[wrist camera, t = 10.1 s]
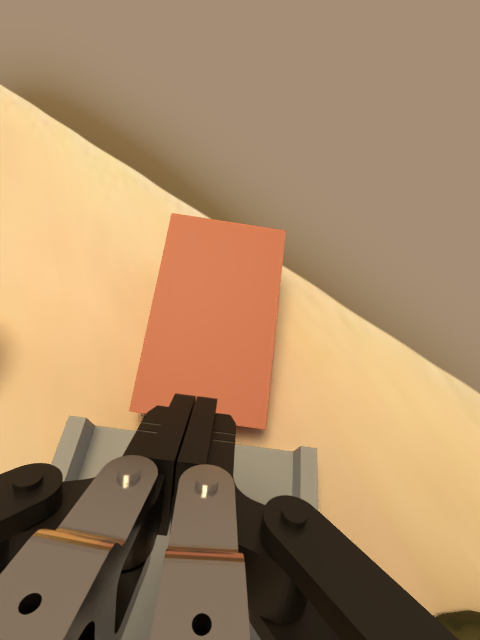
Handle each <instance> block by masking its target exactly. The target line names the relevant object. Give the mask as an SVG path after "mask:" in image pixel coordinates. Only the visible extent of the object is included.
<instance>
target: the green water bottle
mask: <svg viewBox="0 0 480 640" xmlns="http://www.w3.org/2000/svg"><path fill="white" fill-rule="evenodd" d="M436 619H437V620H438V621H439V622H440V623H441V624H442V625H444V626H445V627H446V628H447V629H448V630H449V631H450V632H451V633H452V634H453V635H455V636H456V637H457V638H458V639H459V640H480V612H475V611H471V610H470V611H462V612H455V613H447V614H442V615H440V616H439V617H437V618H436Z"/></svg>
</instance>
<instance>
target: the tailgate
mask: <svg viewBox="0 0 480 640" xmlns="http://www.w3.org/2000/svg"><path fill="white" fill-rule="evenodd" d="M285 232H286V231H285V230H279V229H273V228H266V227H259V226H253V225H246V224H240V223H233V222H226V221H220V220H213V219H207V218H200V217H194V216H187V215H180V214H174V213H172V214H171V219H170V224H169V228H168V233H167V237H166V242H165V247H164V251H163V256H162V261H161V265H160V270H159V275H158V279H157V284H156V288H155V293H154V298H153V302H152V307H151V312H150V316H149V321H148V326H147V330H146V335H145V339H144V344H143V349H142V353H141V358H140V363H139V367H138V372H137V377H136V381H135V386H134V391H133V395H132V400H131V404H130V409H129V411H130V412H138V413H145V414H146V413H147V412H148V411H150V410H151V409H153V408H154V407H156V406H157V405H159V406H167V407H169V405H170V403H171V401H172V399H173V397H174V394H175V393H178V394H185V395H193V396H196V398H197V396H201V397H209V398H216V399H218V400H217V408H216V413H221V414H228V415H231V416H232V418H233V420H234V421H235V423H236V426H243V427H251V428H258V429H266V421H267V411H268V401H269V391H270V381H271V371H272V361H273V351H274V341H275V331H276V321H277V311H278V301H279V291H280V282H281V272H282V261H283V252H284V241H285Z"/></svg>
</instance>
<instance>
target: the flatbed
mask: <svg viewBox="0 0 480 640" xmlns="http://www.w3.org/2000/svg"><path fill="white" fill-rule="evenodd" d="M135 433H136V431H131V430H124V429H116V428H109V427H101V426H95V425H94V424H93V423H91V422H90V421H89V420H88V419H87V418H83V417H76V416H69V418H68V420H67V423H66V426H65V428H64V431H63V434H62V436H61V439H60V442H59V445H58V447H57V450H56V453H55V455H54V458H53V461H52V463H51V465H54V466H56V467H57V468H59V469H60V470H61V472H62V475H63V482H64V481H73V480H82V479H89V478H93V477H96V476H97V475H98V473H99V472H100V471H101V469H102V468H103V467H104V466H105V465H106V464H107V463H108V462H110V461H111V460H113V459H116V458H118V457H122V456H123V454H124V452H125V450H126V448H127V447H128V445H129V443H130V441H131V440H132V438H133V436H134V434H135ZM233 477H234V482H235V484H236V486H237V487H238V489H239V490H240V491H241V492H242V493H243V494H244V495H246V496H247V497H249V498H250V499H252V500H254V501H257V502H259V503H262V504H264V505H266V503H267V502H268V501H269V500H270V499H272V498H274V497H276V496H281V495H289V496H295V497H298V498H301V499H303V500H305V501H306V502H308V503H309V504H311V505H312V506H313V507H314V508H315V509H317V510H318V479H317V448H311V447H304V446H300V447H299V448H298V449H296V450H295V451H293V452H292V451H284V450H277V449H269V448H261V447H254V446H246V445H238V444H235V454H234V472H233ZM170 526H171V523H170ZM170 526H169V530H168V534H167V536H163V535H157V537H156V541H155V544H154V547H153V550H152V552H151V556H150V564H149V567H148V570H147V572H146V575H145V578H144V580H143V583H142V585H141V588H140V591H139V593H138V596H137V599H136V601H135V604H134V607H133V609H132V612H131V615H130V617H129V620H128V623H127V625H126V628H125V630H124V633H123V636H122V638H121V640H150V637H151V631H152V625H153V619H154V614H155V608H156V602H157V596H158V591H159V585H160V579H161V574H162V568H163V562H164V557H165V552H166V549H168V543H169V537H170ZM249 627H250V640H261V639H260V637H259V636H258V634H257V633H256V631H255V630H254V628H253V627H252V625H251V623H250V621H249Z"/></svg>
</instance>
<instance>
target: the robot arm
mask: <svg viewBox="0 0 480 640" xmlns="http://www.w3.org/2000/svg"><path fill="white" fill-rule="evenodd" d="M217 400H218V399H216V398H209V397H201V396H197V398H196V396H193V395H185V394H178V393H175V394H174V397H173V399H172V401H171V403H170V405H169V407H167V406H159V405H157V406H156V407H154V408H153V409H151V410H150V411H148V412H147V413H146V415H145V417H144V418H143V420H142V423H141V424H140V426H139V427H138V429H137V431H136V433H135V434H134V436H133V438H132V440H131V441H130V443H129V445H128V447H127V448H126V450H125V452H124V454H123V456H122V457H118V458H116V459H113V460H111V461H110V462H108V463H107V464H106V465H105V466H104V467H103V468H102V469H101V471H100V472H99V473H98V475H97V476H96V477H93V478H89V479H82V480H73V481H64V482H63V475H62V472H61V470H60V469H59V468H57V467H56V466H54V465H51V464H46V463H34V464H28V465H24V466H21V467H18V468H15V469H13V470H10V471H8V472H5V473H2V474H0V640H121V638H122V636H123V633H124V630H125V628H126V625H127V623H128V620H129V617H130V615H131V612H132V609H133V607H134V604H135V601H136V599H137V596H138V593H139V591H140V588H141V585H142V583H143V580H144V578H145V575H146V572H147V570H148V567H149V564H150V556H151V552H152V550H153V547H154V544H155V541H156V537H157V535H163V536H167V534H168V530H169V526H170V523H171V526H170V537H169V543H168V549H166V552H165V557H164V562H163V568H162V574H161V579H160V585H159V591H158V596H157V602H156V608H155V614H154V619H153V625H152V631H151V637H150V640H250V627H249V621H250V623H251V625H252V627H253V628H254V630H255V631H256V633H257V634H258V636H259V637H260V639H261V640H459V639H458V638H457V637H456V636H455V635H453V634H452V633H451V632H450V631H449V630H448V629H447V628H446V627H445V626H444V625H442V624H441V623H440V622H439V621H438V620H437V619H436V618H435V617H434V616H433V615H432V614H430V613H429V612H428V611H427V610H426V609H425V608H424V607H423V606H422V605H421V604H419V603H418V602H417V601H416V600H415V599H414V598H413V597H412V596H411V595H410V594H409V593H407V592H406V591H405V590H404V589H403V588H402V587H401V586H400V585H399V584H398V583H396V582H395V581H394V580H393V579H392V578H391V577H390V576H389V575H388V574H387V573H386V572H384V571H383V570H382V569H381V568H380V567H379V566H378V565H377V564H376V563H375V562H373V561H372V560H371V559H370V558H369V557H368V556H367V555H366V554H365V553H364V552H363V551H361V550H360V549H359V548H358V547H357V546H356V545H355V544H354V543H353V542H352V541H350V540H349V539H348V538H347V537H346V536H345V535H344V534H343V533H342V532H341V531H340V530H338V529H337V528H336V527H335V526H334V525H333V524H332V523H331V522H330V521H329V520H327V519H326V518H325V517H324V516H323V515H322V514H321V513H320V512H319V511H318V510H317V509H315V508H314V507H313V506H312V505H311V504H309V503H308V502H306V501H305V500H303V499H301V498H298V497H295V496H289V495H281V496H276V497H274V498H272V499H270V500H269V501H268V502H267V503H266V505H264V504H262V503H259V502H257V501H254V500H252V499H250V498H249V497H247V496H246V495H244V494H243V493H242V492H241V491H240V490H239V489H238V487H237V486H236V484H235V482H234V477H233V472H234V454H235V434H236V423H235V421H234V420H233V418H232V416H231V415H228V414H221V413H216V408H217Z"/></svg>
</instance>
